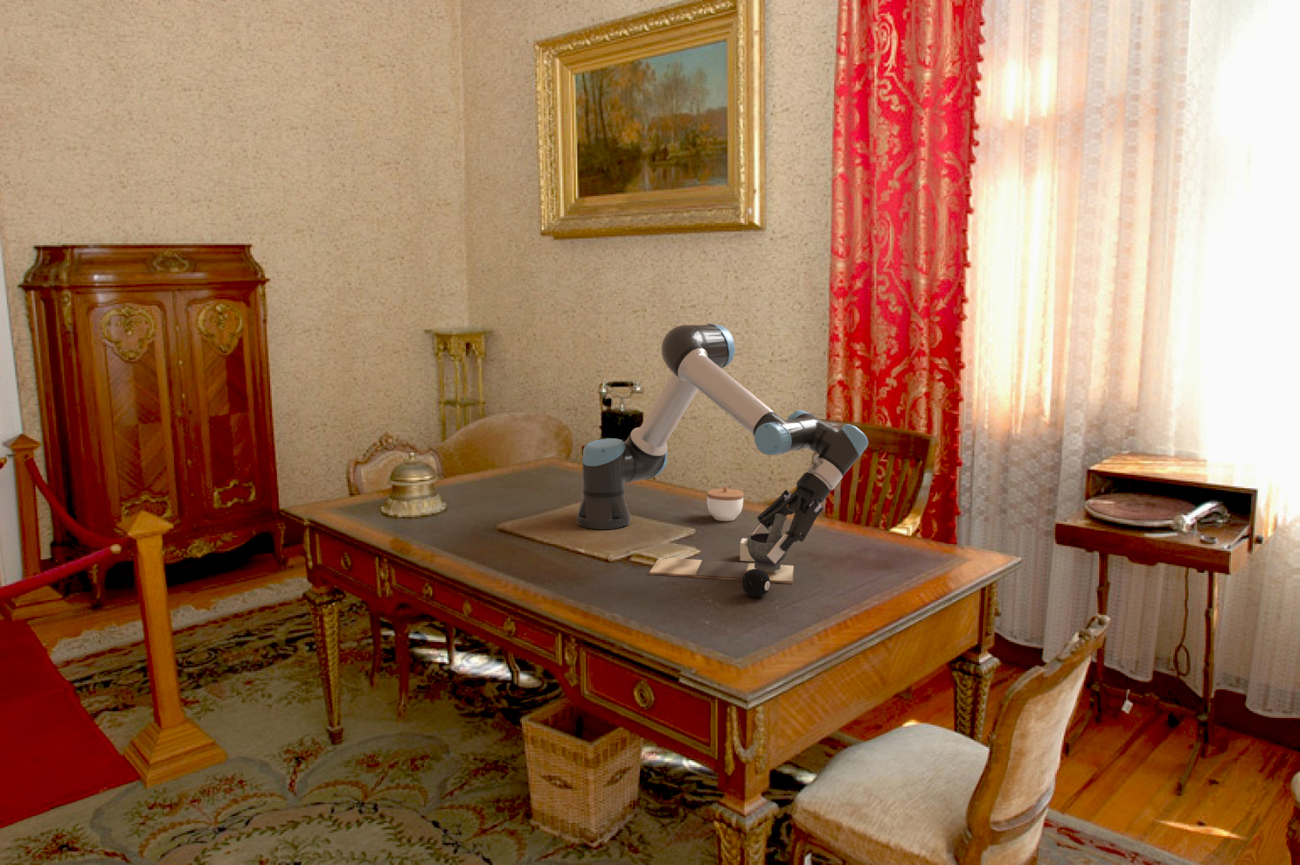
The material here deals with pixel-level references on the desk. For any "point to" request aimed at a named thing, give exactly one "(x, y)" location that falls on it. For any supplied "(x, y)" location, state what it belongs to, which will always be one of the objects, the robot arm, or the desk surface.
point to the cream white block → (744, 552)
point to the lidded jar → (725, 503)
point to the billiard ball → (756, 582)
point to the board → (716, 570)
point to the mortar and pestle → (766, 545)
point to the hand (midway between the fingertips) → (758, 553)
